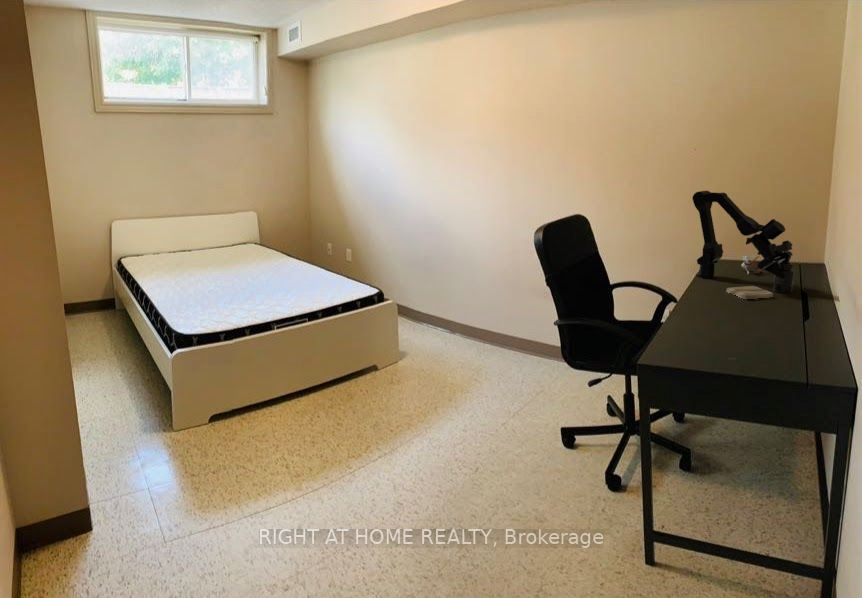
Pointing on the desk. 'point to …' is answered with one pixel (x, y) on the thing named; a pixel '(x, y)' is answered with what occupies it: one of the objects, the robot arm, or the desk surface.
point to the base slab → (749, 292)
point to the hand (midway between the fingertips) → (788, 276)
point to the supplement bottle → (787, 282)
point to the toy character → (749, 263)
